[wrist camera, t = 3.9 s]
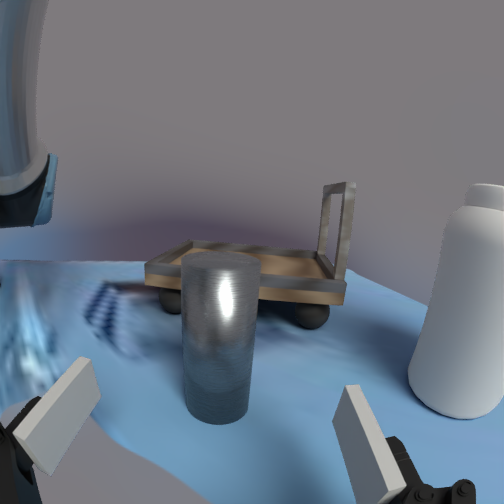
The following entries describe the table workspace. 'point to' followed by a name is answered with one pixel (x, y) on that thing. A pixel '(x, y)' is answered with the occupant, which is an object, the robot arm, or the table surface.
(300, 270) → the caster cart
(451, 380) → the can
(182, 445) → the table surface
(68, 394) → the robot arm
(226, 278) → the steel cylinder
